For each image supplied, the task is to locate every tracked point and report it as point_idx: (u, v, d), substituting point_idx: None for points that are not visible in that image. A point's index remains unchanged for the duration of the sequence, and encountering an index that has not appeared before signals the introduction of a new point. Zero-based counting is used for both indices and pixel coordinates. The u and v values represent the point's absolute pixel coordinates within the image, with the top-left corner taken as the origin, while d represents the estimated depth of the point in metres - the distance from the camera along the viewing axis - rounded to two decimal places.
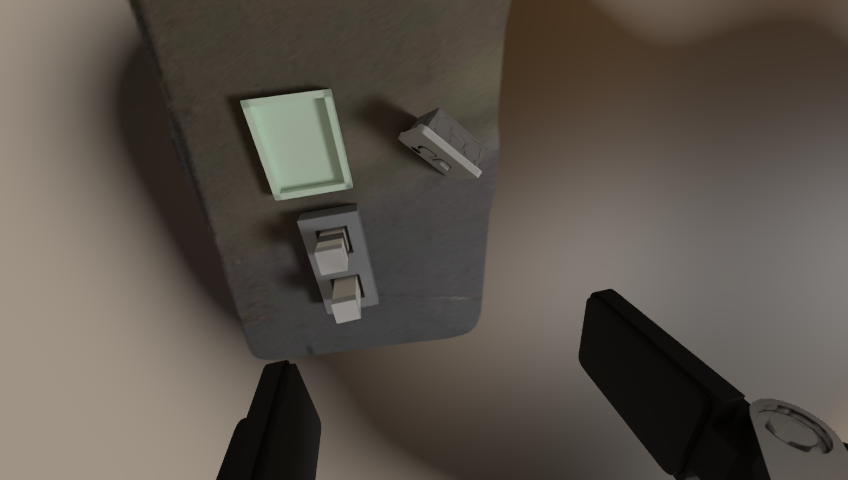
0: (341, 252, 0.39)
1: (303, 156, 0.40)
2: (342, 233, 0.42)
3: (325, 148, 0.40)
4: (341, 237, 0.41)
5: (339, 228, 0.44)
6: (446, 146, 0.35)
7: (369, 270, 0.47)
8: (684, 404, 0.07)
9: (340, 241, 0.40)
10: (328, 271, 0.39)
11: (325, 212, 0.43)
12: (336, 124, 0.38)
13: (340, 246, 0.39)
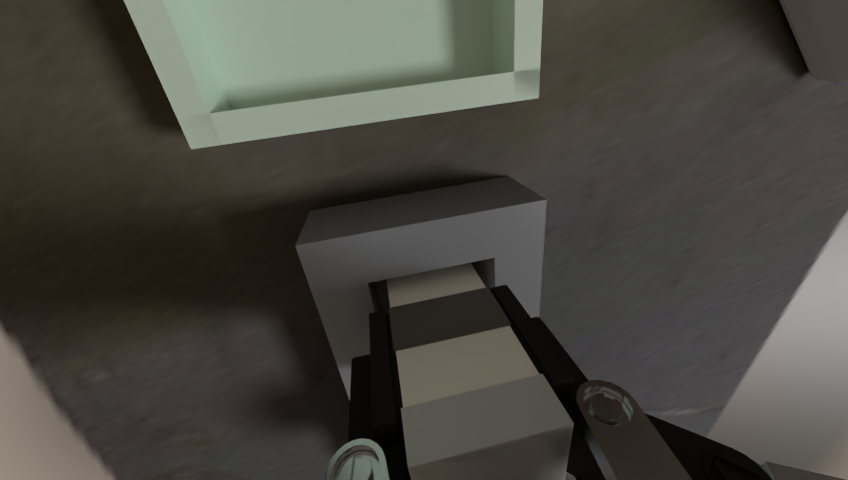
0: (564, 444, 0.06)
1: None
2: (488, 294, 0.10)
3: None
4: (502, 321, 0.09)
5: (455, 267, 0.12)
6: None
7: None
8: None
9: (516, 351, 0.08)
10: None
11: (406, 206, 0.11)
12: None
13: (554, 404, 0.06)
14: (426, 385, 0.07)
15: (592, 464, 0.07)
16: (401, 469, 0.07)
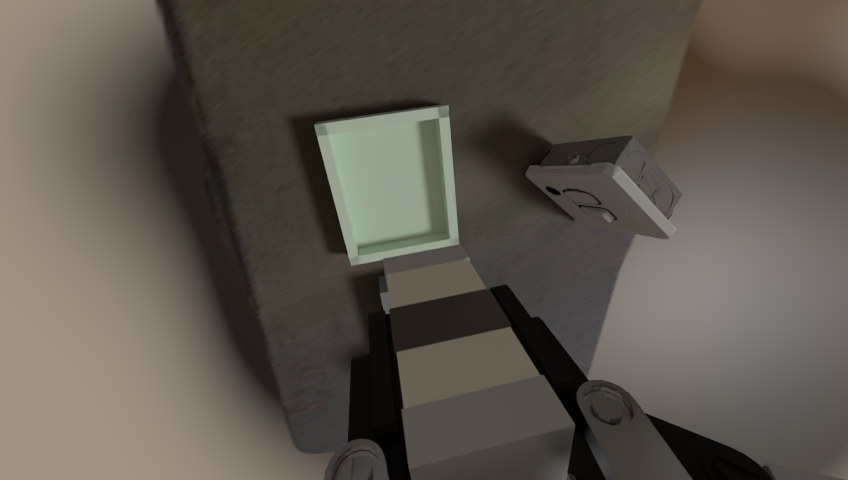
0: (565, 445, 0.06)
1: (392, 201, 0.28)
2: (489, 296, 0.10)
3: (424, 189, 0.28)
4: (502, 322, 0.09)
5: (456, 268, 0.12)
6: (639, 196, 0.22)
7: None
8: None
9: (517, 352, 0.08)
10: None
11: None
12: (450, 157, 0.25)
13: (555, 405, 0.06)
14: (427, 386, 0.07)
15: (593, 464, 0.07)
16: (401, 469, 0.07)
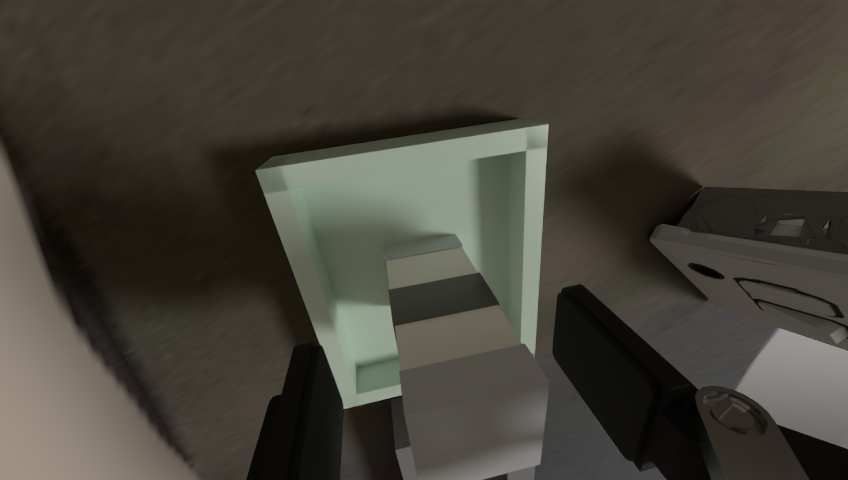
0: (541, 401, 0.07)
1: None
2: (480, 279, 0.11)
3: None
4: (491, 300, 0.10)
5: (450, 255, 0.13)
6: None
7: None
8: (638, 392, 0.07)
9: (503, 326, 0.09)
10: (456, 478, 0.08)
11: None
12: (539, 224, 0.13)
13: (533, 367, 0.07)
14: (422, 353, 0.08)
15: None
16: None
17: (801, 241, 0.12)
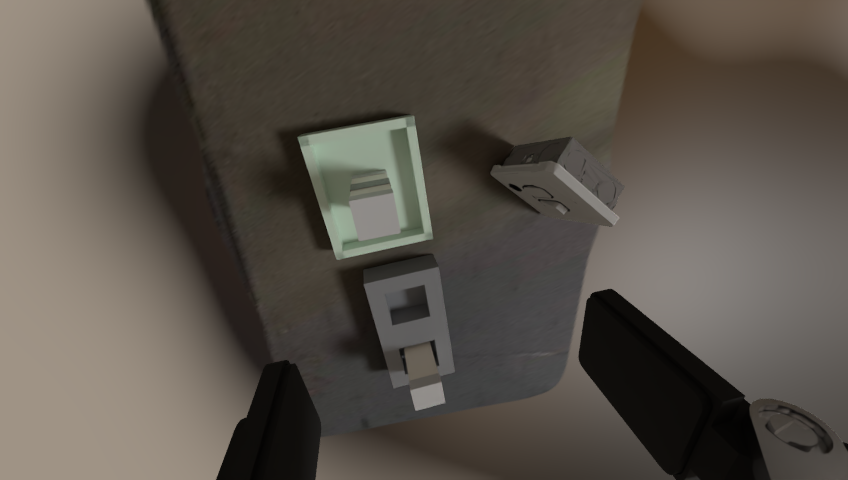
0: (392, 201, 0.23)
1: None
2: (387, 179, 0.27)
3: (399, 190, 0.31)
4: (387, 182, 0.26)
5: (380, 175, 0.29)
6: (580, 189, 0.25)
7: (447, 335, 0.37)
8: (684, 404, 0.07)
9: (388, 186, 0.25)
10: (370, 234, 0.24)
11: (396, 268, 0.34)
12: (419, 161, 0.29)
13: (390, 191, 0.23)
14: (358, 193, 0.24)
15: None
16: None
17: (530, 163, 0.28)
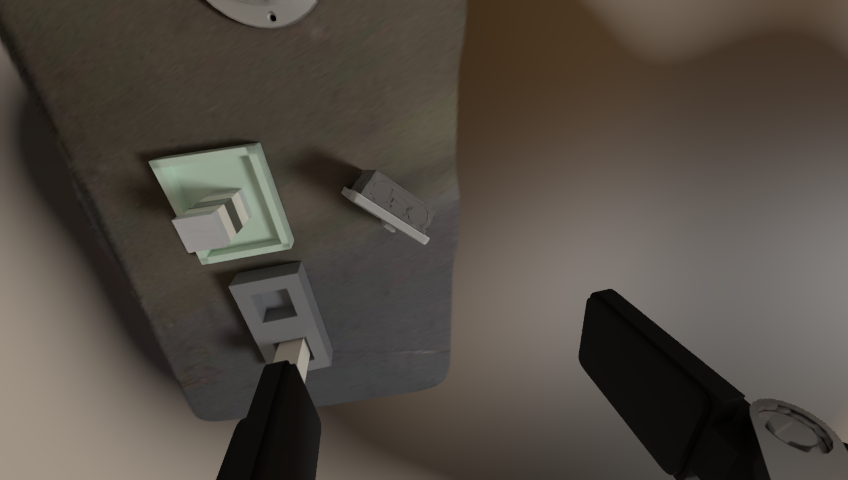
0: (212, 220, 0.28)
1: None
2: (228, 199, 0.31)
3: (258, 206, 0.36)
4: (223, 203, 0.30)
5: (230, 194, 0.33)
6: (384, 214, 0.30)
7: (317, 332, 0.42)
8: (684, 404, 0.07)
9: (217, 207, 0.29)
10: (197, 247, 0.29)
11: (263, 273, 0.39)
12: (265, 183, 0.33)
13: (211, 212, 0.28)
14: (189, 212, 0.29)
15: None
16: None
17: (358, 188, 0.33)
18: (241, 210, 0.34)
